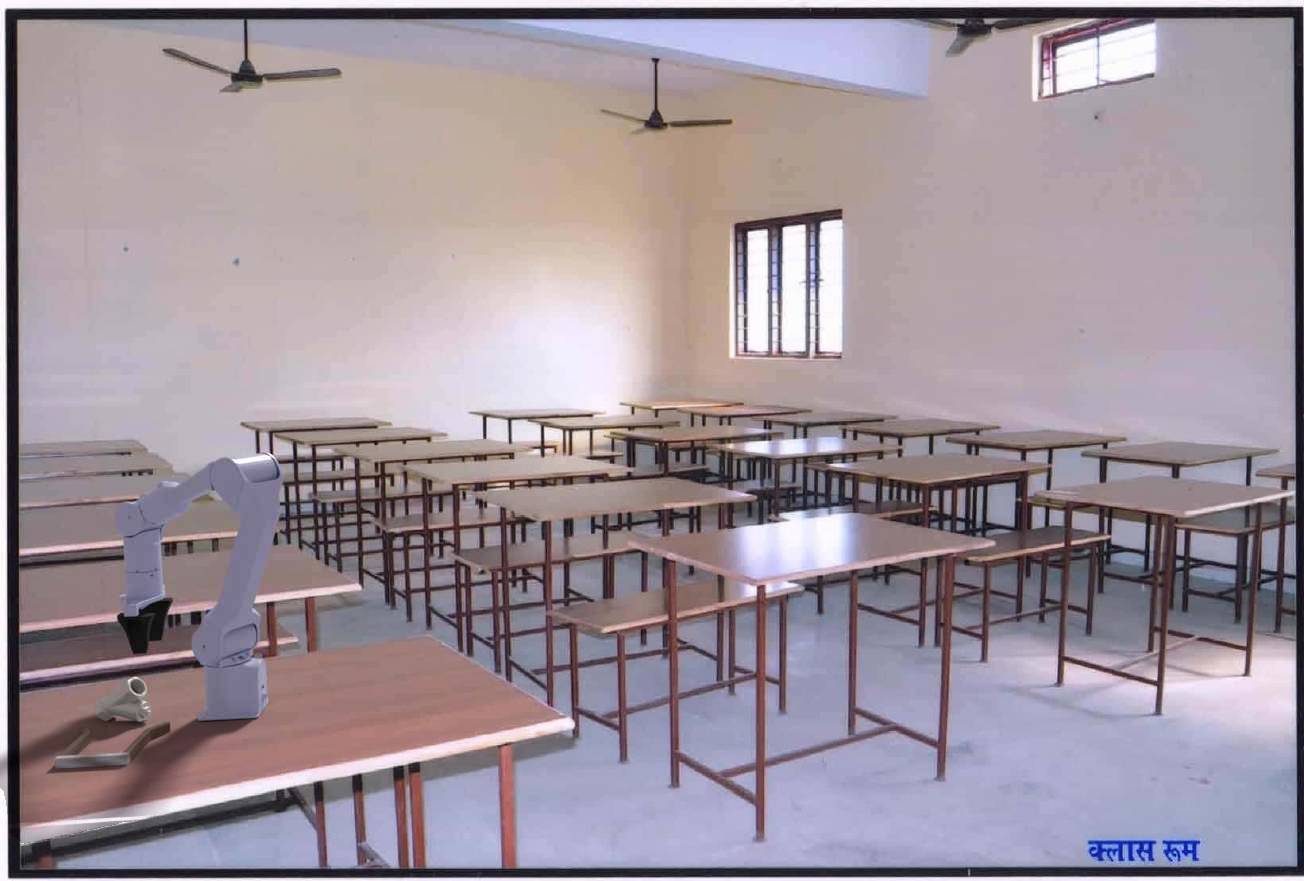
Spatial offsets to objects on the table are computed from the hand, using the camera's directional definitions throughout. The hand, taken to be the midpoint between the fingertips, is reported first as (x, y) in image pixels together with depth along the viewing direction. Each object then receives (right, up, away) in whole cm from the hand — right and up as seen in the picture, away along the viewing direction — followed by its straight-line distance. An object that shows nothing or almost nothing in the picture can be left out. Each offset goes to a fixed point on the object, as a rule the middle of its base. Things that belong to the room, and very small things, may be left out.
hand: (147, 646), depth 177 cm
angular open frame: (+4, -11, -21) cm, 24 cm away
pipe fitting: (+3, -11, -10) cm, 15 cm away
